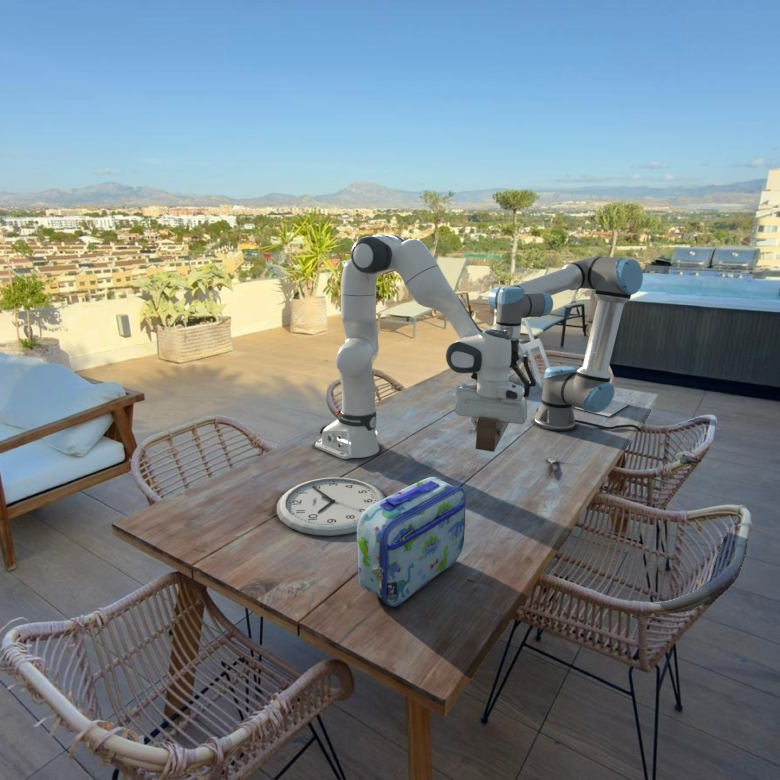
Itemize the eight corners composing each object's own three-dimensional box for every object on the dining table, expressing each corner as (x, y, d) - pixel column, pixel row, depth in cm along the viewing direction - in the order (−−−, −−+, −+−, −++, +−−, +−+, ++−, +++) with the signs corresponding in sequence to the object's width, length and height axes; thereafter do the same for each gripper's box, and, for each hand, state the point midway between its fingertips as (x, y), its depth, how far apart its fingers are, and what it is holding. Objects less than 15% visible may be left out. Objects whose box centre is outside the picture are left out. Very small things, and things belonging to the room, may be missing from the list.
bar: (494, 418, 175) (496, 392, 172) (510, 420, 173) (512, 394, 170) (475, 449, 150) (477, 419, 147) (493, 452, 148) (496, 422, 145)
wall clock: (392, 527, 129) (268, 531, 127) (391, 533, 130) (269, 537, 127) (383, 473, 158) (282, 475, 155) (383, 478, 158) (282, 480, 156)
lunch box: (386, 620, 101) (388, 525, 95) (350, 593, 108) (349, 503, 102) (468, 563, 119) (474, 480, 112) (432, 543, 126) (436, 464, 120)
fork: (545, 476, 161) (545, 470, 161) (548, 456, 176) (549, 450, 175) (553, 477, 160) (554, 471, 160) (556, 457, 175) (557, 452, 174)
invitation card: (608, 416, 214) (573, 407, 224) (608, 416, 214) (573, 408, 224) (628, 404, 229) (594, 396, 238) (628, 405, 229) (594, 397, 238)
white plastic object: (490, 419, 266) (470, 396, 241) (471, 346, 288) (451, 319, 263) (561, 395, 253) (548, 368, 229) (535, 321, 276) (521, 290, 251)
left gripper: (453, 385, 149) (451, 431, 153) (527, 395, 141) (522, 442, 146) (459, 380, 154) (456, 424, 158) (530, 389, 147) (525, 434, 151)
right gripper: (464, 336, 162) (460, 401, 169) (547, 344, 154) (539, 412, 160) (470, 332, 169) (465, 394, 175) (550, 339, 160) (542, 405, 167)
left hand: (488, 433), depth 152 cm, fingers closed on bar, 5 cm apart
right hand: (501, 403), depth 168 cm, fingers open, 13 cm apart
